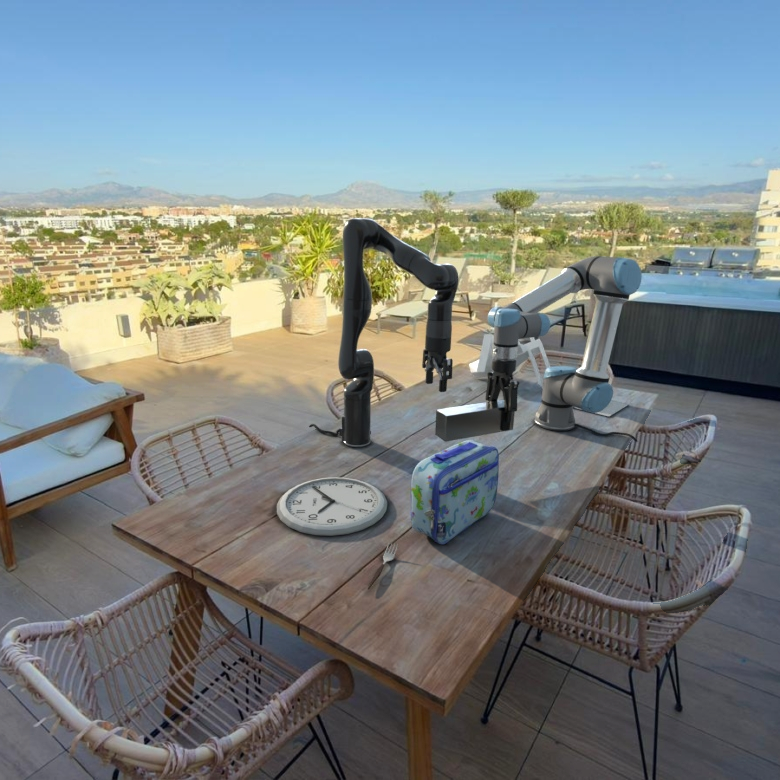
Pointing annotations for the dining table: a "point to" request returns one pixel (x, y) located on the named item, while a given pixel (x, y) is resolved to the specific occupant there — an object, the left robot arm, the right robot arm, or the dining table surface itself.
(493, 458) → the lunch box
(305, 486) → the wall clock
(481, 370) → the white plastic object
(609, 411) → the invitation card
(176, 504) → the dining table surface
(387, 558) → the fork
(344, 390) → the left robot arm
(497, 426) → the box
